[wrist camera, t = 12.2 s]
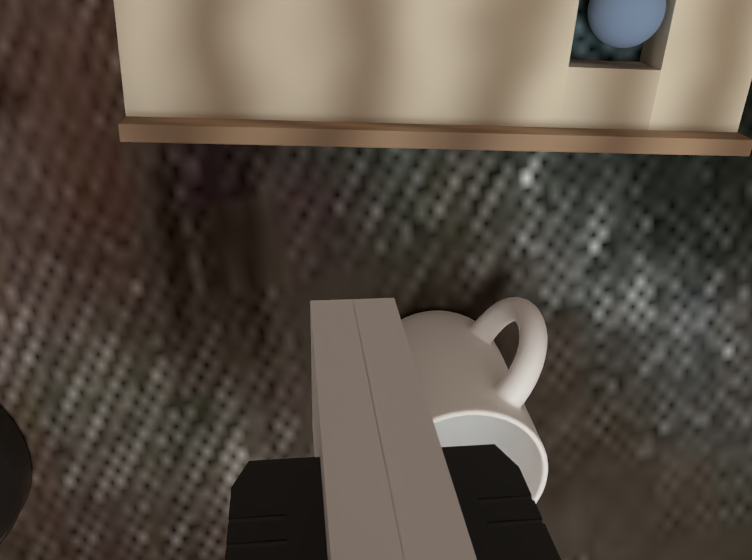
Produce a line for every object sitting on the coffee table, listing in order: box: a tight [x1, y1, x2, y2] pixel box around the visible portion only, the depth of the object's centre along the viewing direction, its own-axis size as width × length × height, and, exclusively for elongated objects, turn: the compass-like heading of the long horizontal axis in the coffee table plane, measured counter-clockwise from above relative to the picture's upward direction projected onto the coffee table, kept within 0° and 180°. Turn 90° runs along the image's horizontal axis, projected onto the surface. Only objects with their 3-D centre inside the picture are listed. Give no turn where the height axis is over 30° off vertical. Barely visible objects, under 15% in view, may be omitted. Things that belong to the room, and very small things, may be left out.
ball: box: [588, 0, 666, 48], centre depth 34 cm, size 4×4×4 cm
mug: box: [401, 297, 548, 503], centre depth 38 cm, size 12×8×10 cm
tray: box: [114, 0, 752, 156], centre depth 33 cm, size 30×12×4 cm, turn 87°
